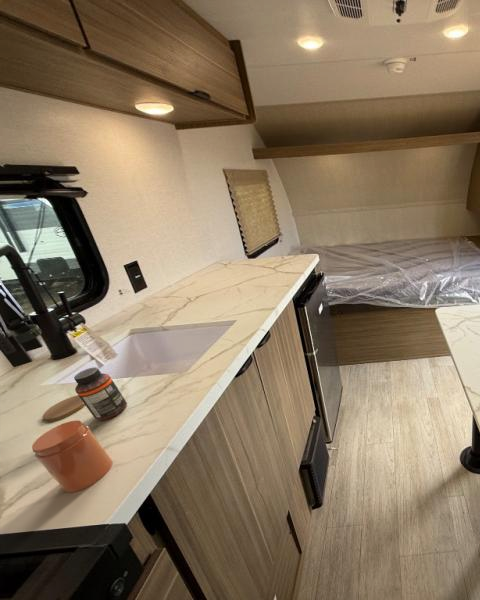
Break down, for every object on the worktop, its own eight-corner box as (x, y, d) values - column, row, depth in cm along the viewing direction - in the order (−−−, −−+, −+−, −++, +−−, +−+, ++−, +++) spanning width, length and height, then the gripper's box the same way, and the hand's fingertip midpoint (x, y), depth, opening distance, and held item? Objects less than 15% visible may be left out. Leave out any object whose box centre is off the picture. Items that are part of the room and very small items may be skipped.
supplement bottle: (100, 409, 74) (74, 370, 70) (130, 399, 77) (107, 360, 72) (91, 426, 70) (62, 385, 65) (124, 414, 72) (98, 374, 67)
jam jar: (53, 493, 55) (17, 452, 51) (90, 458, 61) (60, 419, 57) (88, 492, 54) (54, 450, 50) (121, 457, 60) (94, 418, 56)
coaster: (34, 422, 73) (32, 419, 73) (69, 397, 80) (67, 395, 80) (65, 420, 72) (63, 417, 72) (97, 396, 80) (95, 393, 79)
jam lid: (25, 344, 66) (19, 337, 65) (-21, 354, 64) (-27, 346, 63) (51, 327, 72) (46, 321, 72) (10, 336, 71) (5, 329, 70)
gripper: (-40, 260, 55) (39, 368, 64) (3, 244, 70) (62, 333, 80) (-109, 273, 51) (-14, 386, 60) (-48, 253, 66) (20, 345, 76)
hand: (29, 355), depth 70 cm, fingers closed on jam lid, 7 cm apart
